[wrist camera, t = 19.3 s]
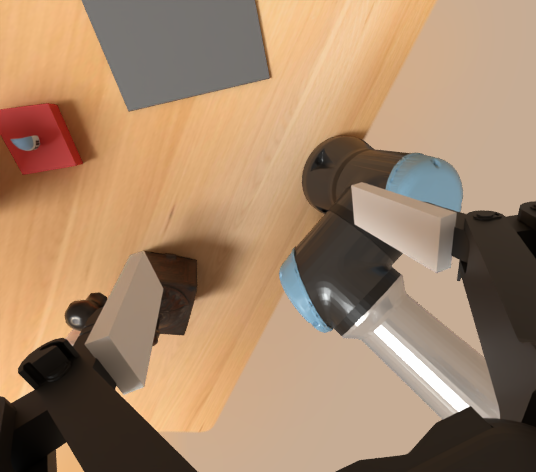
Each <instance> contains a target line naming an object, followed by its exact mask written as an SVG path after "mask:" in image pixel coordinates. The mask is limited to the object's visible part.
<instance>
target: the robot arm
mask: <svg viewBox="0 0 536 472" xmlns="http://www.w3.org/2000/svg"><path fill="white" fill-rule="evenodd" d="M302 186H303V191H304V194H305V197H306V199H307V200H308V202H309V203H310V204H311V205H312V206H313V207H314V208H315V209H317V210H318V211H320V212H321V213H323V214H325V215H324V216H323V217H322V218H321V219H320V220H319V222H318V223H317V224H316V225H315V226H314V227H313V228H312V230H311V231H310V232H309V233H308V234H307V235H306V236H305V238H304V239H303V240H302V241H301V242H300V243H299V245H298V246H297V247H294V248H293V250H292V253H291V254H290V255H289V256H288V258H287V259H286V260H285V262H284V263H283V264H282V266H281V268H280V271H279V277H280V281H281V284H282V287H283V289H284V291H285V293H286V295H287V296H288V298H289V299H290V301H291V302H292V304H293V305H294V307H295V308H296V309H297V310H298V312H299V313H300V314H301V315H302V316H303V317H304V318H305V319H306V321H308V322H309V323H311V324H312V325H313V326H314V328H316V329H317V330H319V331H321V332H324V333H325V332H328V331H332V330H333V328H334V329H335V330H336V331H337V332H338V333H339V334H340V335H341V336H342V337H343V338H354V339H355V338H356V339H359V340H362V341H363V342H364V343H365V344H366V345H367V346H368V347H369V348H370V349H371V350H372V351H373V352H374V353H375V354H376V355H377V356H378V357H379V358H380V359H382V360H383V362H385V364H386V365H387V366H388V367H389V368H390V369H391V370H392V371H394V372H395V373H396V374H397V375H398V376H399V377H400V378H401V379H402V380H403V381H404V382H405V383H406V384H407V385H408V386H409V387H410V388H411V389H412V390H413V391H414V392H415V393H416V394H417V395H418V396H419V397H420V398H421V399H422V400H423V401H424V402H425V403H426V404H427V405H428V406H429V407H430V408H431V409H432V410H433V411H435V413H436V414H437V415H438V416H439V417H441V419H442V420H441V421H439V422H437V423H436V424H435V425H434V426H433V427H432V428H431V429H430V430H429V431H428V433H427V434H426V435H425V436H424V437H423V438H422V439H421V440H420V441H419V443H418V444H417V445H416V446H415V447H414V448H413V449H412V450H411V452H409V453H408V454H406V455H401V456H393V457H384V458H375V459H366V460H359V461H357V462H355V463H353V464H351V465H349V466H346V467H344V468H342V469H340V470H338V471H336V472H536V202H527V203H524V204H522V205H520V208H519V213H518V215H514V216H508V217H505V216H504V215H503V214H500V213H497V212H493V211H473V212H469V213H468V214H464V213H460V211H461V202H462V199H463V189H462V183H461V180H460V177H459V175H458V173H457V171H456V170H455V169H454V168H453V166H452V165H450V164H449V163H448V162H446V161H444V160H442V159H439V158H435V157H431V156H426V155H424V154H420V153H402V152H401V153H400V152H392V151H383V150H374V149H373V148H372V147H371V146H369V145H368V144H367V143H366V142H365V141H363V140H361V139H359V138H356V137H352V136H336V137H332V138H330V139H327V140H325V141H324V142H322V143H321V144H320V145H318V146H317V147H316V148H315V149H314V150H313V152H312V153H311V154H310V156H309V158H308V159H307V161H306V164H305V167H304V170H303V175H302ZM403 253H404V254H405V255H407V256H409V257H410V258H412V259H414V260H415V261H417V262H419V263H421V264H422V265H424V266H425V267H427V268H429V269H430V270H432V271H434V272H435V273H438V272H441V271H443V270H446V269H448V268H451V260H452V256H453V257H456V258H458V259H460V262H459V269H458V278H457V281H460V279H461V278H462V280H463V283H464V287H465V291H466V294H467V298H468V301H469V304H470V308H471V312H472V315H473V318H474V322H475V325H476V329H477V332H478V335H479V339H480V343H481V346H482V350H483V353H484V357H485V358H484V357H483V356H482V355H481V354H479V353H478V352H477V351H476V350H475V349H473V348H472V347H471V346H470V345H468V344H467V343H466V342H465V341H463V340H462V339H461V338H460V337H459V336H457V335H456V334H455V333H454V332H453V331H451V330H450V329H449V328H448V327H447V326H445V325H444V324H443V323H442V322H440V321H439V320H438V319H437V318H435V317H434V316H433V315H432V314H431V313H429V312H428V311H427V310H426V309H425V308H423V307H422V306H421V305H420V304H418V303H417V302H416V301H415V300H414V299H412V298H411V297H410V296H409V295H408V294H406V291H405V288H404V281H403V276H402V275H401V274H400V273H398V272H397V271H396V270H395V269H394V268H392V264H393V263H394V262H395V261H396V260H397V259H398V258H399V257H400V256H401V255H402V254H403ZM162 293H163V287H162V285H161V283H160V281H159V279H158V277H157V275H156V273H155V272H154V270H153V268H152V266H151V264H150V262H149V260H148V258H147V256H146V254H145V252H144V251H141V252H138V253H135V254H132V255H130V256H129V258H128V260H127V262H126V264H125V266H124V268H123V270H122V272H121V274H120V276H119V278H118V280H117V282H116V284H115V286H114V288H113V290H112V291H111V293H110V295H109V297H108V299H107V301H106V303H105V305H104V307H102V308H99V309H97V310H96V311H95V312H94V313H93V314H92V315H91V316H90V317H89V318H88V320H87V322H86V323H85V325H84V328H83V329H82V331H81V332H80V334H79V335H80V336H78V338H77V340H76V341H75V343H74V345H73V346H72V345H71V344H70V343H69V341H68V340H67V339H64V338H59V339H55V340H52V341H50V342H47V343H46V344H44V345H42V346H41V347H39V348H37V349H36V350H35V351H33V352H32V353H31V354H29V355H28V356H27V357H26V359H25V360H24V361H23V362H22V363H21V365H20V366H19V368H18V373H19V374H20V375H21V376H22V377H23V378H24V379H25V380H26V381H27V382H28V383H29V384H30V385H31V386H32V387H33V388H34V389H35V390H34V391H32V392H30V393H28V394H27V395H25V396H23V397H21V398H20V399H18V400H16V401H14V402H13V403H10V402H9V401H8V400H7V399H5V398H4V397H0V472H57V464H56V449H57V448H59V447H60V446H62V445H63V444H64V443H66V442H67V443H68V445H69V447H70V448H71V450H72V452H73V454H74V455H75V457H76V458H77V460H78V462H79V463H80V465H81V467H82V469H83V470H84V472H197V471H196V470H195V469H194V468H193V467H192V466H191V465H190V464H189V463H188V462H187V461H186V460H185V459H184V458H183V457H182V456H181V455H180V454H179V453H178V452H177V451H176V450H175V449H174V448H173V447H172V446H171V445H170V444H169V443H168V442H167V441H166V440H165V439H164V438H163V437H162V436H161V435H160V434H159V433H158V432H157V431H156V430H155V429H154V428H153V427H152V426H151V425H150V424H149V423H148V422H147V421H146V420H145V419H144V418H143V417H142V416H141V415H140V414H139V413H138V412H137V411H136V410H135V409H134V408H133V407H132V406H131V405H130V404H129V403H128V402H127V401H125V400H124V399H123V398H122V397H121V396H120V395H119V394H118V393H117V392H116V391H115V388H116V386H117V387H118V388H119V389H120V391H121V392H122V393H123V395H125V394H127V393H130V392H132V391H135V390H138V389H140V388H143V387H144V386H145V381H146V375H147V370H148V365H149V360H150V355H151V350H152V345H153V340H154V334H155V329H156V324H157V319H158V314H159V309H160V304H161V298H162Z"/></svg>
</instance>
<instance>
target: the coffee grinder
mask: <svg viewBox="0 0 536 472" xmlns="http://www.w3.org/2000/svg"><path fill="white" fill-rule="evenodd" d="M145 254H146V256H147V258H148V260H149V262H150V264H151V266H152V268H153V270H154V272H155V273H156V275H157V277H158V279H159V281H160V283H161V285H162V287H163V293H162V298H161V304H160V309H159V314H158V319H157V324H156V329H155V334H154V340H153V345H152V346H154V345H156V344H157V342H158V337H159V335H160V334H172V335H184V334H185V331H186V328H187V326H188V322H189V319H190V315H191V311H192V308H193V304H194V300H195V296H196V292H197V260H193V259H189V258H184V257H180V256H176V255H174V254H160V253H145ZM106 301H107V297H106V296H104V295H103V294H101V293H91V294H90V295H89V296H88V298H87V299H86V300H81V301H74V302H72V303H71V304H70V305H69V307H68V308H67V310H66V312H65V320H66V323H67V324H68V326H70V327H71V328H73V329H74V330H77V331H82V329H83V328H84V325H85V323H86V322H87V320H88V318H89V317H90V316H91V315H92V314H93V313H94V312H95V311H96V310H97V309H99V308H102V307H104V305H105V303H106Z"/></svg>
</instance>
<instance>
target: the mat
mask: <svg viewBox="0 0 536 472" xmlns="http://www.w3.org/2000/svg"><path fill="white" fill-rule="evenodd" d="M82 2H83V5H84V7H85V9H86V12H87V14H88V17H89V19H90V21H91V24H92V26H93V28H94V31H95V33H96V35H97V38H98V40H99V42H100V45H101V47H102V50H103V52H104V54H105V57H106V59H107V61H108V64H109V66H110V68H111V71H112V73H113V76H114V78H115V80H116V83H117V85H118V87H119V90H120V92H121V94H122V97H123V99H124V102H125V104H126V106H127V109H128V111H133V110H137V109H142V108H146V107H150V106H154V105H159V104H163V103H167V102H171V101H176V100H180V99H184V98H188V97H192V96H197V95H201V94H205V93H209V92H214V91H218V90H222V89H226V88H231V87H235V86H239V85H243V84H248V83H252V82H256V81H260V80H265V79H269V78H270V77H269V72H268V66H267V61H266V56H265V51H264V46H263V40H262V35H261V30H260V25H259V19H258V14H257V9H256V4H255V0H82Z"/></svg>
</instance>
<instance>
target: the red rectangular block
mask: <svg viewBox="0 0 536 472" xmlns="http://www.w3.org/2000/svg"><path fill="white" fill-rule="evenodd" d="M0 135H1V136H2V138H3V140H4V142H5V144H6V146H7V147H8V149H9V151H10V153H11V155H12V156H13V158H14V160H15V162H16V164H17V165H18V167H19V169H20V171H21V173H22V174H23V175H25V174H31V173H36V172H42V171H48V170H54V169H60V168H65V167H71V166H77V165H80V164H83V162H82V160H81V157H80V155H79V153H78V151H77V148H76V146H75V144H74V142H73V139H72V137H71V135H70V133H69V130H68V128H67V126H66V124H65V121H64V119H63V117H62V115H61V112H60V110H59V108H58V106H57V105H55V104H49V103H46V104H39V105H31V106H24V107H16V108H8V109H1V110H0Z"/></svg>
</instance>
